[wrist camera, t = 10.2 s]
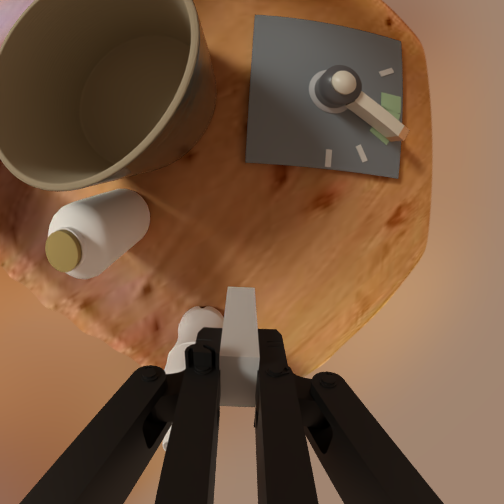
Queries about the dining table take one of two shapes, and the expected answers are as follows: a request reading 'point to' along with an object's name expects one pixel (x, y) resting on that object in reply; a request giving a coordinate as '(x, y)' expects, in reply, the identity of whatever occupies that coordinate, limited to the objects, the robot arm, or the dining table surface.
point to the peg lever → (356, 101)
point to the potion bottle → (96, 232)
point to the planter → (102, 90)
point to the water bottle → (190, 339)
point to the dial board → (309, 107)
